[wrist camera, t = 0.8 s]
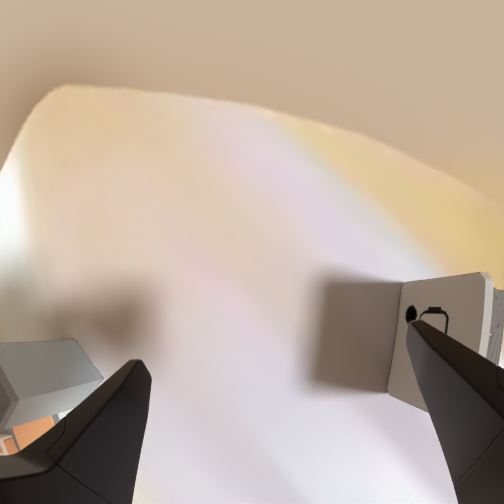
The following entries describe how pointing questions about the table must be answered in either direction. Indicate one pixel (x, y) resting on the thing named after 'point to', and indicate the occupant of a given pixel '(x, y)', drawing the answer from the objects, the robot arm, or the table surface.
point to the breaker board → (24, 434)
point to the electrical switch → (447, 323)
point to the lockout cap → (43, 380)
